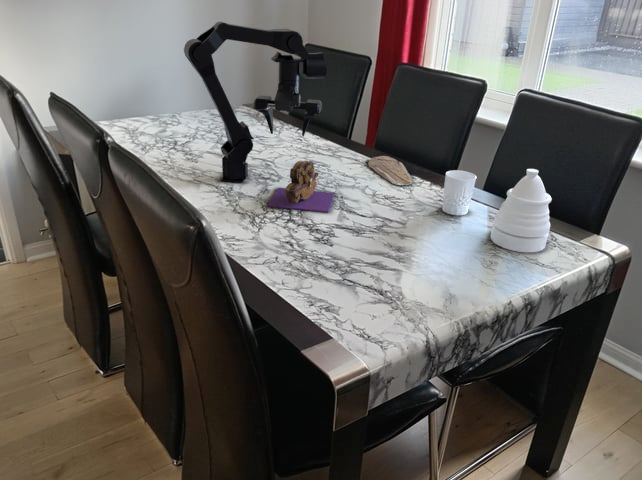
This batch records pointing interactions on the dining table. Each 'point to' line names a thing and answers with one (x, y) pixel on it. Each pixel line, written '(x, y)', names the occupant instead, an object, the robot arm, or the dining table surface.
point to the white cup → (458, 192)
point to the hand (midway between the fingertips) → (287, 134)
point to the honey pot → (523, 216)
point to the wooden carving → (301, 181)
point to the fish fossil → (390, 170)
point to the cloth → (303, 201)
